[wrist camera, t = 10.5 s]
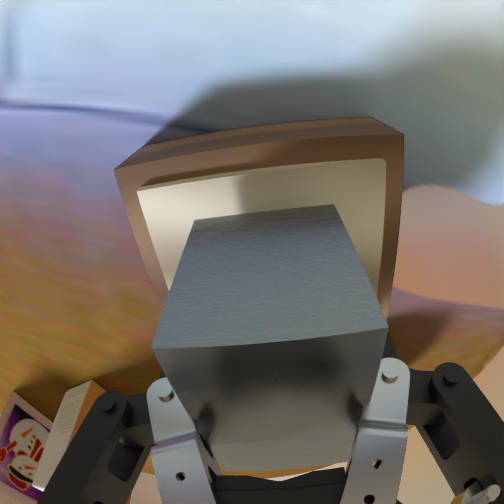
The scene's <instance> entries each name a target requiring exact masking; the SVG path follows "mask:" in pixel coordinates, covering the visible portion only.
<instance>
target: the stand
mask: <svg viewBox="0 0 504 504" xmlns="http://www.w3.org/2000/svg"><path fill="white" fill-rule="evenodd" d="M403 161H404V134H403V133H401V132H399V131H397V130H395V129H394V128H392V127H390V126H388V125H386V124H384V123H382V122H380V121H379V120H377V119H375V118H373V117H370V118H343V119H325V120H311V121H299V122H288V123H278V124H269V125H260V126H252V127H245V128H238V129H231V130H224V131H218V132H211V133H205V134H200V135H194V136H188V137H183V138H178V139H173V140H168V141H163V142H158V143H154V144H149V145H145V146H142V147H141V148H140V149H139V150H137V151H136V152H135V153H134V154H132V155H131V156H130V157H129V158H127V159H126V160H125V161H124V162H122V163H121V164H120V165H119V166H118V167H116V168H115V169H114V172H115V176H116V179H117V183H118V186H119V189H120V193H121V196H122V199H123V202H124V205H125V209H126V212H127V215H128V218H129V221H130V224H131V227H132V230H133V233H134V236H135V239H136V242H137V244H138V247H139V250H140V253H141V256H142V258H143V261H144V264H145V267H146V269H147V272H148V275H149V277H150V280H151V283H152V285H153V288H154V290H155V293H156V295H157V298H158V300H159V303H160V305H161V308H162V310H163V309H164V306H165V303H166V300H167V297H168V294H169V291H170V288H171V285H172V282H173V279H174V276H175V273H176V270H177V267H178V264H179V261H180V259H181V256H182V253H183V250H184V247H185V244H186V242H187V239H188V236H189V233H190V231H191V228H192V225H193V223H194V220H198V219H205V218H213V217H221V216H229V215H237V214H246V213H254V212H263V211H272V210H281V209H290V208H300V207H310V206H320V205H330V204H334V205H335V207H336V209H337V211H338V213H339V215H340V217H341V220H342V222H343V224H344V226H345V228H346V230H347V232H348V234H349V236H350V238H351V241H352V243H353V245H354V247H355V249H356V251H357V253H358V256H359V258H360V260H361V262H362V265H363V267H364V269H365V271H366V274H367V276H368V278H369V280H370V283H371V285H372V287H373V290H374V292H375V295H376V297H377V299H378V302H379V304H380V307H381V309H382V311H383V314H384V316H385V319H387V314H388V308H389V302H390V296H391V290H392V284H393V277H394V270H395V262H396V254H397V246H398V237H399V226H400V214H401V201H402V186H403Z"/></svg>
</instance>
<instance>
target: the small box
mask: <svg viewBox="0 0 504 504" xmlns="http://www.w3.org/2000/svg"><path fill="white" fill-rule="evenodd" d="M105 392H107V391H106V390H105V389H103V388H102V387H100V386H99V385H98V384H97V383H96V382H94V381H93V380H90V381H88V382H85V383H83V384H81V385H79V386H76V387H74V388H72V389H70V390H68V391H66V393H65V395H64V398H63V400H62V402H61V405H60V407H59V410H58V412H57V415H56V417H55V420H54V423H53V425H52V428H51V431H50V433H49V436H48V439H47V442H46V444H45V447H44V450H43V453H42V456H41V459H40V462H39V465H38V468H37V471H36V474H35V477H34V480H33V483H32V486H33V487H35V488H37V489H39V490H41V491H44V489H45V487H46V485H47V484H48V482H49V480H50V478H51V476H52V474H53V473H54V471H55V469H56V467H57V465H58V464H59V462H60V460H61V458H62V456H63V455H64V453H65V451H66V449H67V448H68V446H69V444H70V442H71V441H72V439H73V437H74V436H75V434H76V432H77V430H78V429H79V427H80V425H81V424H82V422H83V420H84V418H85V417H86V415H87V413H88V412H89V410H90V408H91V407H92V405H93V403H94V402H95V400H96V399H97V398H98V397H99V396H100V395H101V394H103V393H105ZM131 493H132V492H131ZM130 498H131V494H130V496H129V498H128V500H127V503H126V504H129V503H130Z"/></svg>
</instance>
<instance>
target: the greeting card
mask: <svg viewBox="0 0 504 504" xmlns="http://www.w3.org/2000/svg"><path fill="white" fill-rule="evenodd" d="M52 425H53V422H52V421H50V420H49V419H48V418H46V417H45V416H44V415H42V414H41V413H40V412H38V411H37V410H36V409H35V408H33V407H32V406H31V405H30V404H28V403H27V402H26V401H25V400H23V399H22V398H21V397H20V396H19V395H17V394H16V393H15V392H14V391H13V392H12V394H11V396H10V398H9V400H8V402H7V404H6V406H5V408H4V410H3V413H2V415H1V417H0V492H2V493H4V494H6V495H7V496H9V497H11V498H13V499H15V500H17V501H18V502H21V503H23V504H37V502H38V501H39V499H40V497H41V495H42V493H43V491H41V490H39V489H37V488H35V487H33V486H32V483H33V480H34V477H35V474H36V471H37V468H38V465H39V462H40V459H41V456H42V453H43V450H44V447H45V444H46V442H47V439H48V436H49V433H50V431H51V428H52Z"/></svg>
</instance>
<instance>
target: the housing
mask: <svg viewBox="0 0 504 504" xmlns="http://www.w3.org/2000/svg"><path fill="white" fill-rule="evenodd" d="M388 329H389V327H388V324H387V321H386V319H385V316H384V314H383V311H382V309H381V307H380V304H379V302H378V299H377V297H376V295H375V292H374V290H373V287H372V285H371V283H370V280H369V278H368V276H367V274H366V271H365V269H364V267H363V265H362V262H361V260H360V258H359V256H358V253H357V251H356V249H355V247H354V245H353V243H352V241H351V238H350V236H349V234H348V232H347V230H346V228H345V226H344V224H343V222H342V220H341V217H340V215H339V213H338V211H337V209H336V207H335V205H334V204H330V205H320V206H310V207H300V208H290V209H281V210H272V211H263V212H254V213H246V214H237V215H229V216H221V217H213V218H205V219H198V220H194V223H193V225H192V228H191V231H190V233H189V236H188V239H187V242H186V244H185V247H184V250H183V253H182V256H181V259H180V261H179V264H178V267H177V270H176V273H175V276H174V279H173V282H172V285H171V288H170V291H169V294H168V297H167V300H166V303H165V306H164V309H163V312H162V315H161V318H160V321H159V324H158V328H157V331H156V334H155V337H154V341H153V344H152V347H151V349H152V351H153V353H154V355H155V357H156V359H157V361H158V363H159V364H160V366H161V368H162V370H163V372H164V374H165V375H166V377H167V379H168V381H169V383H170V384H171V386H172V388H173V390H174V391H175V393H176V395H177V397H178V398H179V400H180V402H181V403H182V405H183V407H184V408H185V410H186V412H187V413H191V414H192V415H193V417H194V419H195V421H196V424H197V428H198V431H199V433H200V434H201V436H202V437H203V439H204V440H208V441H209V443H210V444H211V446H212V449H213V452H214V455H215V457H216V458H217V460H218V461H219V463H220V464H221V465H222V467H223V468H224V470H225V471H250V470H275V469H290V468H301V467H311V466H319V465H327V464H334V463H341V462H347V461H348V460H349V457H350V453H351V450H352V446H353V442H354V437H355V433H356V430H357V429H359V424H360V420H361V415H362V410H363V406H364V402H365V399H367V398H371V397H372V394H373V390H374V386H375V383H376V379H377V375H378V371H379V367H380V363H381V359H382V355H383V351H384V347H385V342H386V338H387V333H388Z"/></svg>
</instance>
